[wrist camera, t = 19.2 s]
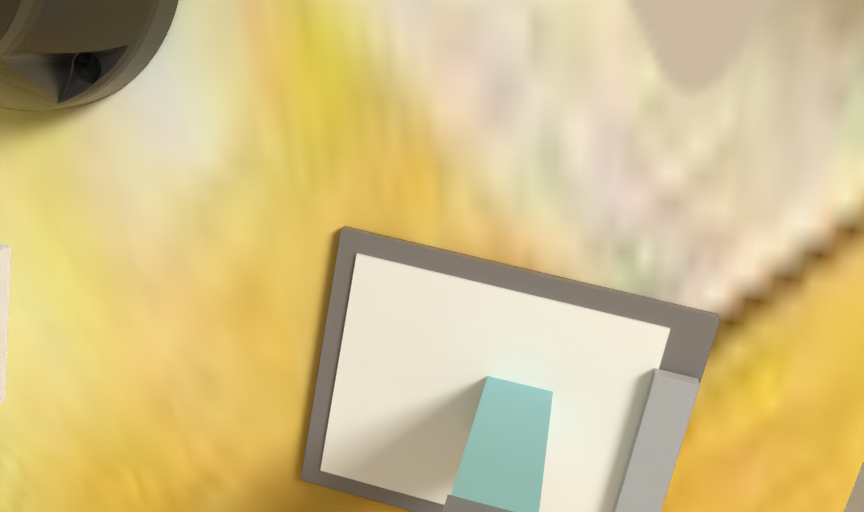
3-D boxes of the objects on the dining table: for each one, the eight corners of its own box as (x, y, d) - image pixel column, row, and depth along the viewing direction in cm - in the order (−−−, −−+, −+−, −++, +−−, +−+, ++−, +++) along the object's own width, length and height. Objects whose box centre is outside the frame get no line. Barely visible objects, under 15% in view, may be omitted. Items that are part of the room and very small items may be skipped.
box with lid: (472, 435, 41) (420, 609, 29) (486, 373, 40) (437, 526, 28) (540, 452, 41) (516, 636, 28) (555, 390, 40) (537, 553, 27)
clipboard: (304, 474, 44) (294, 490, 43) (344, 226, 40) (334, 233, 39) (639, 567, 42) (641, 587, 41) (718, 314, 38) (723, 325, 36)
